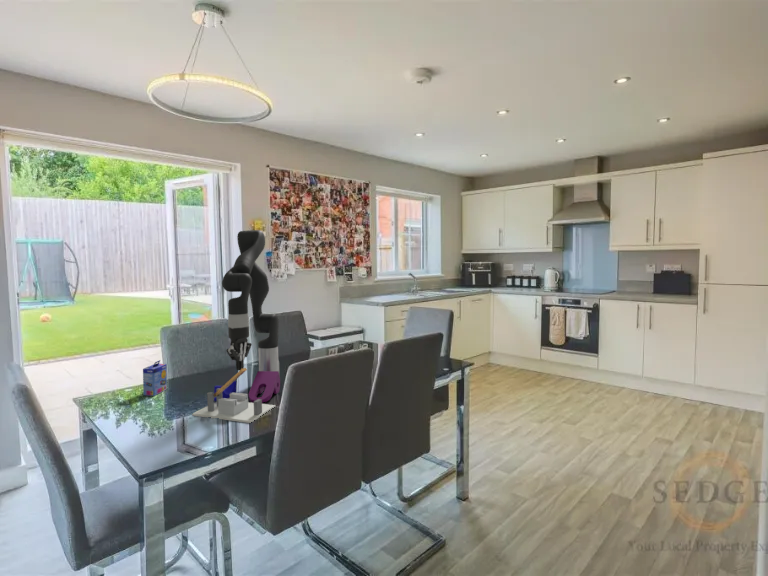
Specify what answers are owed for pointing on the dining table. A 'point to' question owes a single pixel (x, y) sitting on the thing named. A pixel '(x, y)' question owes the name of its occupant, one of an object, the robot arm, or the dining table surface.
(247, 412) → the board
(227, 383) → the wooden strip
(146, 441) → the dining table surface
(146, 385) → the ink cartridge box
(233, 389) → the cable clip
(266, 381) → the mounting bracket
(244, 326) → the robot arm
